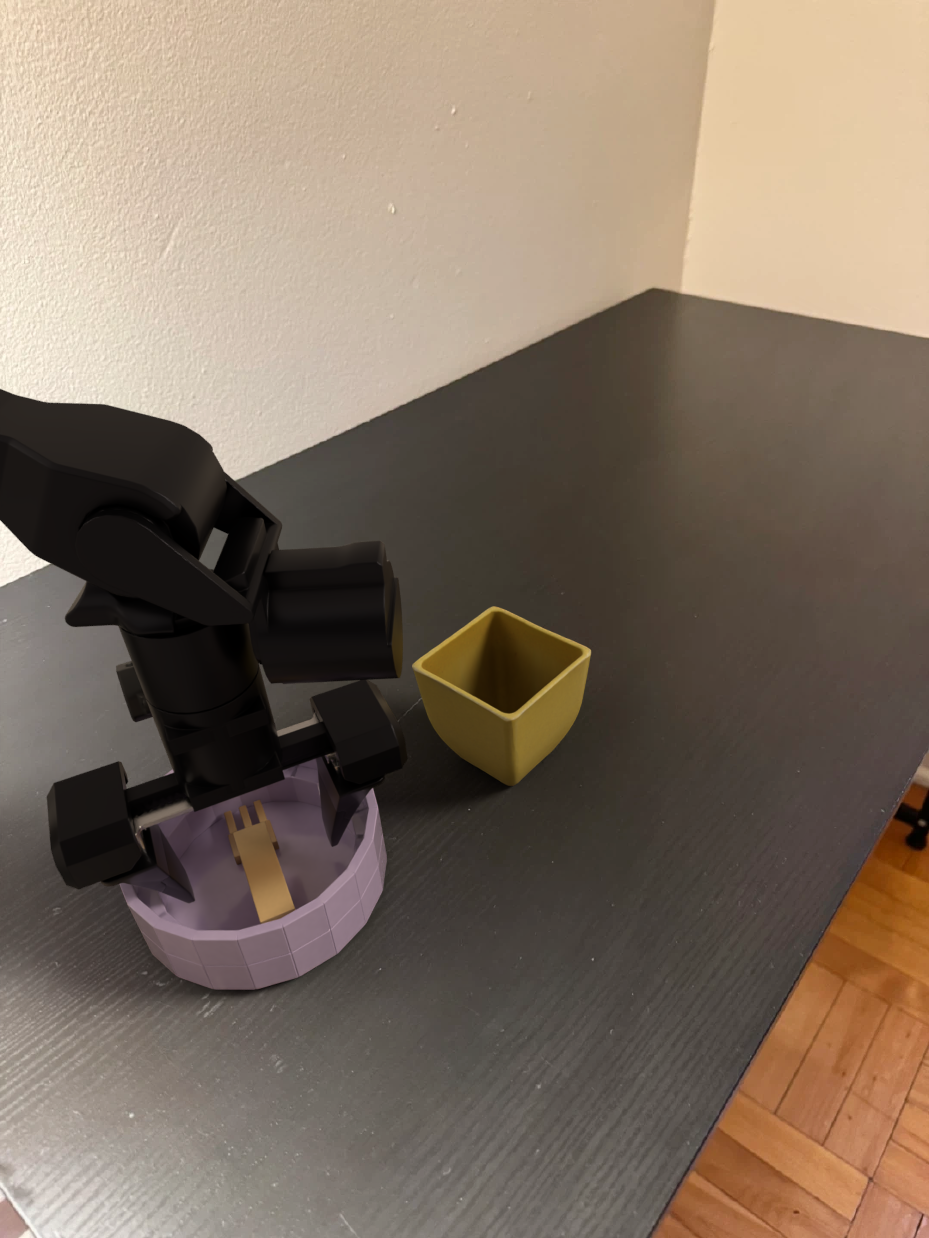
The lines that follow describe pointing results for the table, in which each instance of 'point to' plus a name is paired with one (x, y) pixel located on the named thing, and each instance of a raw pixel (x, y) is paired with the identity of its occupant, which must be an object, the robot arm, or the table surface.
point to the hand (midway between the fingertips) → (263, 867)
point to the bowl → (224, 908)
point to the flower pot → (503, 692)
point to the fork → (260, 864)
